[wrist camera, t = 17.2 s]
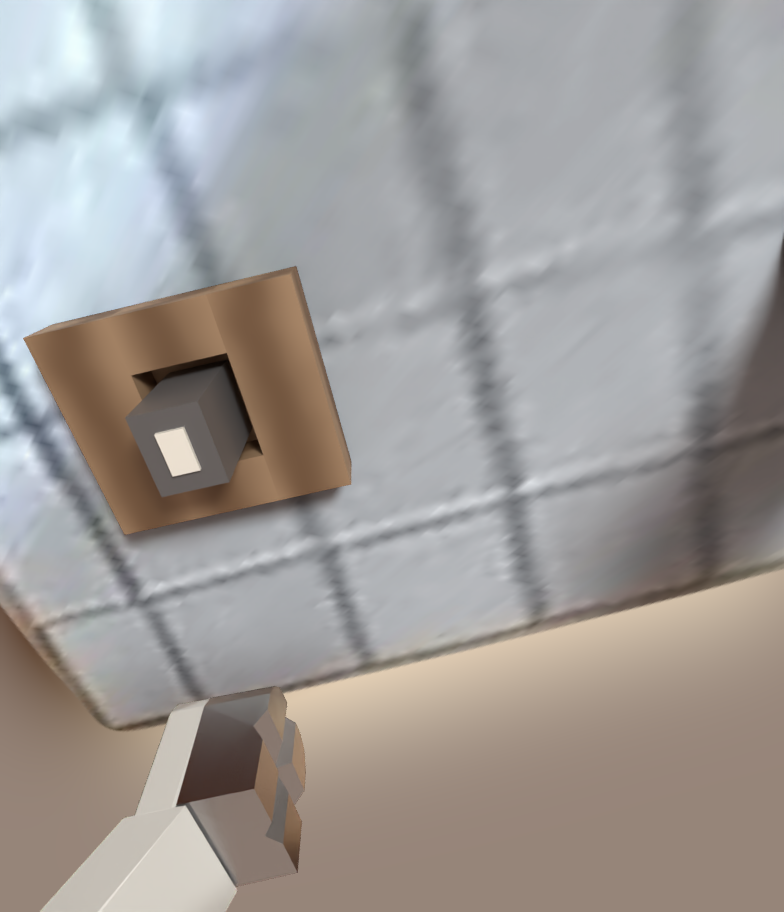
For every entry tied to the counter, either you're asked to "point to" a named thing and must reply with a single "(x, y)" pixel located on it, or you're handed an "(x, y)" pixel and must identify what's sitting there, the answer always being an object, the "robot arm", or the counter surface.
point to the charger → (192, 428)
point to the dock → (188, 345)
